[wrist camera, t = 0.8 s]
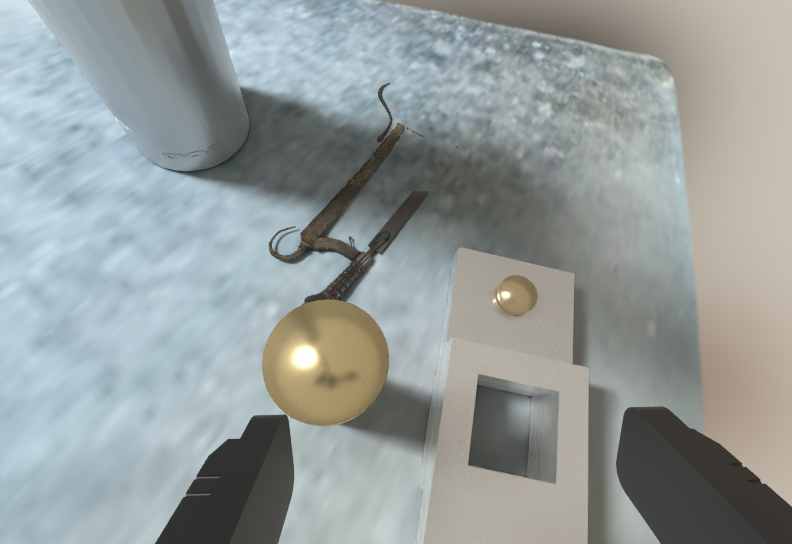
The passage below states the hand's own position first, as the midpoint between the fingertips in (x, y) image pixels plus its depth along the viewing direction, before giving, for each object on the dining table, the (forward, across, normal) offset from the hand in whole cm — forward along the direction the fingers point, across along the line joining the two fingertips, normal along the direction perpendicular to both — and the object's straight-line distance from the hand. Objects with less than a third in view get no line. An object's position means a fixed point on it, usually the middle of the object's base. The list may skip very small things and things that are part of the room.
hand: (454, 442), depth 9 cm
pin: (+16, +5, +9) cm, 19 cm away
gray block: (+15, -5, +11) cm, 20 cm away
